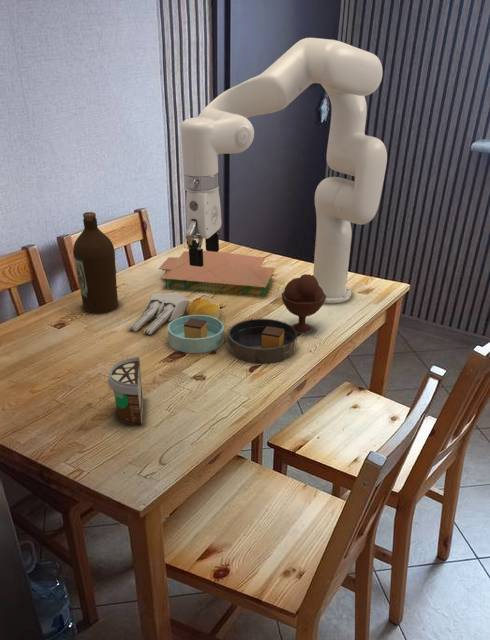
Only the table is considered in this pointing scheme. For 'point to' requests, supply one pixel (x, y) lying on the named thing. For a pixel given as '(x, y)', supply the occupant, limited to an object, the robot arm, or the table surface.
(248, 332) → the charcoal bowl
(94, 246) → the olive oil
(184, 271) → the house
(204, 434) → the table surface
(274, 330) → the snack cake
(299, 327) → the ice cream bowl
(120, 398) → the food container
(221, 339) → the blue bowl
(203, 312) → the bread roll
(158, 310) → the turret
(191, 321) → the snack cake
